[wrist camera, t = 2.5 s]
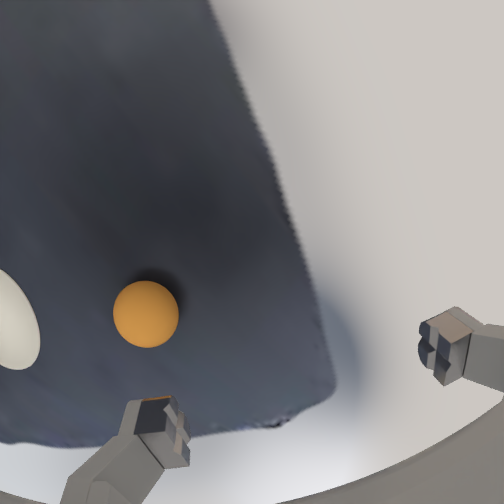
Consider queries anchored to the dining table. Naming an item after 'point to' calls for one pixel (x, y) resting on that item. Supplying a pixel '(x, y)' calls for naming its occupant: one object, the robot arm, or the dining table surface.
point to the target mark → (17, 326)
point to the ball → (145, 314)
